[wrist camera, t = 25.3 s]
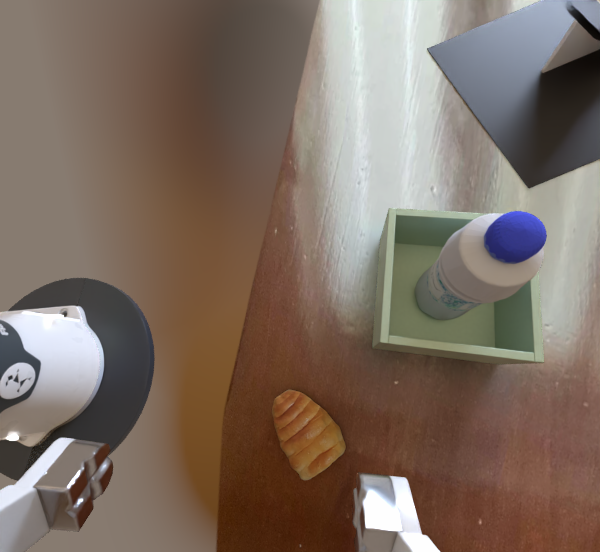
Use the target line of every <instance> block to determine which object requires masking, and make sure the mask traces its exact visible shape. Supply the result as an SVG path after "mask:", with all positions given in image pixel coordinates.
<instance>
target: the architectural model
mask: <svg viewBox="0 0 600 552" xmlns="http://www.w3.org/2000/svg"><path fill="white" fill-rule="evenodd" d="M428 51H429V52H430V54H431V55H432V56H433V58H434V59H435V60H436V62H437V63H438V64H439V66H440V67H441V69H442V70H443V71H444V73H445V74H446V75H447V77H448V78H449V80H450V81H451V82H452V84H453V85H454V86H455V88H456V89H457V91H458V92H459V93H460V95H461V96H462V97H463V99H464V100H465V102H466V103H467V104H468V106H469V107H470V108H471V110H472V111H473V113H474V114H475V115H476V117H477V118H478V119H479V121H480V122H481V124H482V125H483V126H484V128H485V129H486V130H487V132H488V133H489V135H490V136H491V137H492V139H493V140H494V141H495V143H496V144H497V145H498V147H499V148H500V150H501V151H502V152H503V154H504V155H505V156H506V158H507V159H508V161H509V162H510V163H511V165H512V166H513V167H514V169H515V170H516V172H517V173H518V174H519V176H520V177H521V178H522V180H523V181H524V183H525V184H526V185H527V187H528V188H531V187H533V186H536V185H538V184H541V183H543V182H545V181H548V180H550V179H553V178H555V177H557V176H560V175H562V174H565V173H567V172H569V171H572V170H574V169H577V168H579V167H581V166H584V165H586V164H588V163H591V162H593V161H596V160H598V159H600V0H541V1H539V2H537V3H534V4H532V5H529V6H527V7H525V8H522V9H520V10H518V11H515V12H513V13H511V14H508V15H506V16H503V17H501V18H499V19H496V20H494V21H492V22H489V23H487V24H485V25H482V26H480V27H478V28H475V29H473V30H470V31H468V32H466V33H463V34H461V35H459V36H456V37H454V38H452V39H449V40H447V41H444V42H442V43H440V44H437V45H435V46H433V47H430V48H428Z"/></svg>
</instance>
